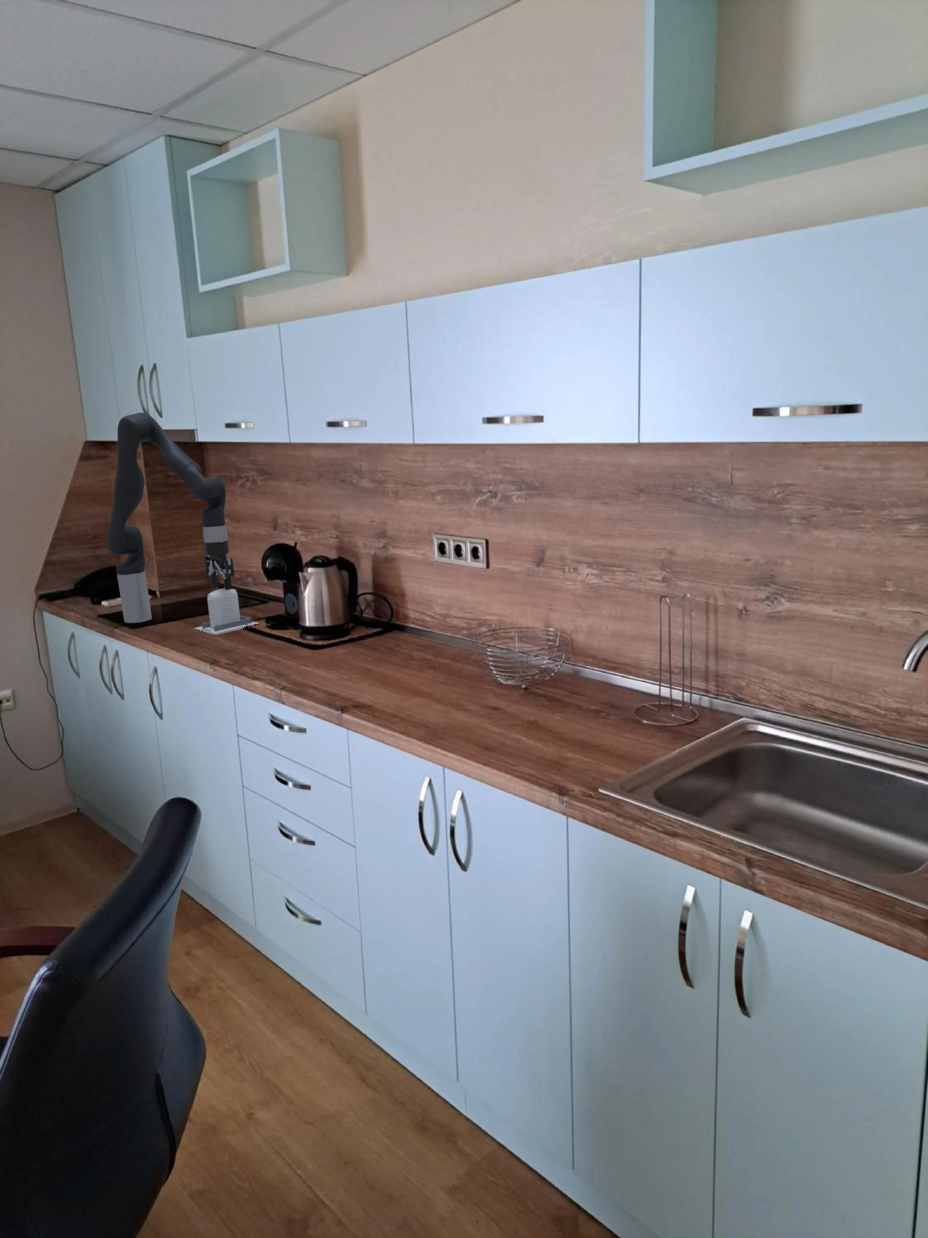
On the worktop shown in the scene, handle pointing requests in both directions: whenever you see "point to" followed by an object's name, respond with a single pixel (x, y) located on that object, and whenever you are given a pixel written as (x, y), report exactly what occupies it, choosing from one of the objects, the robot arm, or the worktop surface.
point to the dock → (226, 626)
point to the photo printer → (223, 607)
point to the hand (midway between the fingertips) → (221, 588)
